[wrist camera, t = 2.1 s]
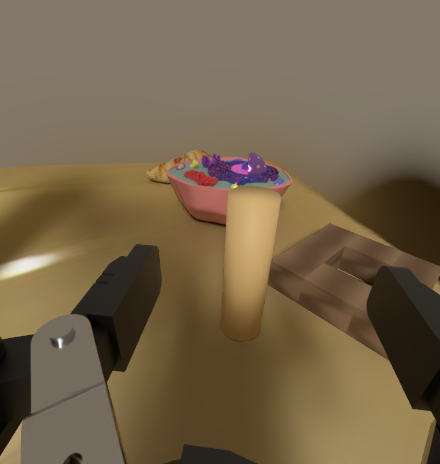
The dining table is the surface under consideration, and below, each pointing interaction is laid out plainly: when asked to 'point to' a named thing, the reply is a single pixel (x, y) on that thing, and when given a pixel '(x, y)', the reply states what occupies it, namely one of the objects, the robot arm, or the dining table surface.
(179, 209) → the dining table surface
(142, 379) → the dining table surface
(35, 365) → the robot arm
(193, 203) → the cell model
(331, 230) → the hole block
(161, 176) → the croissant
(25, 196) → the dining table surface
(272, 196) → the peg
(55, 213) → the dining table surface
